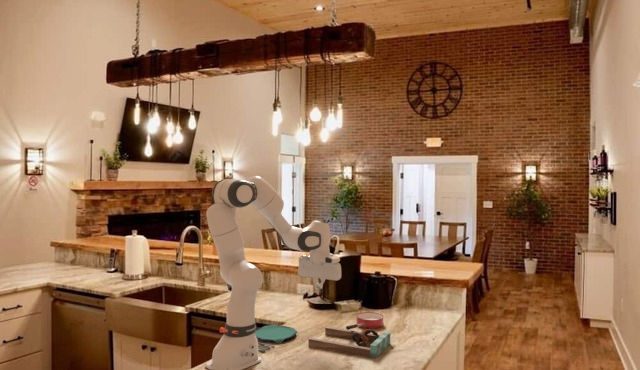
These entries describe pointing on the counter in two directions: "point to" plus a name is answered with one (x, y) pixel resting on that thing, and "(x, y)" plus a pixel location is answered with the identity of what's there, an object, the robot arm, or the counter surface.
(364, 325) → the frying pan
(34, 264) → the counter surface
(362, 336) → the dark brown looped piece
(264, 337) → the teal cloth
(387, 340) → the guide
